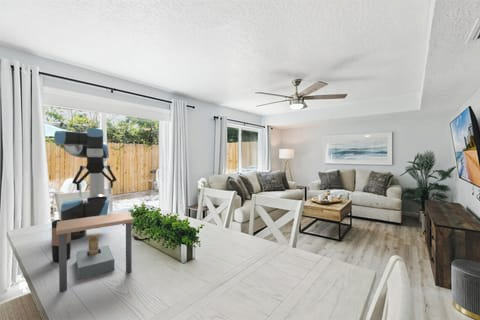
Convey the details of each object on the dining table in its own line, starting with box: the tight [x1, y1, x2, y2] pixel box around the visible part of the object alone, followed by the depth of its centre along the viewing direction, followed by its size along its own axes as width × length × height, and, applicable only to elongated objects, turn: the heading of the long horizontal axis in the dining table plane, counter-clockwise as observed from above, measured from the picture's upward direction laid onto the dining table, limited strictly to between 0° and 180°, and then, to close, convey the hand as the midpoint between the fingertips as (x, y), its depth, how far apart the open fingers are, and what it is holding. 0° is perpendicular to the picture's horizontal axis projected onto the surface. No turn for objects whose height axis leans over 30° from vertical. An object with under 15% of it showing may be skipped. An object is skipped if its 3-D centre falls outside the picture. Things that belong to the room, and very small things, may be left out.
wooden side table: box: [56, 211, 135, 293], centre depth 102 cm, size 15×28×25 cm, turn 128°
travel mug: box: [51, 219, 72, 264], centre depth 115 cm, size 8×8×20 cm
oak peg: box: [88, 233, 99, 256], centre depth 113 cm, size 4×4×14 cm
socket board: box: [75, 244, 115, 280], centre depth 110 cm, size 20×14×5 cm
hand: (95, 195), depth 124 cm, fingers open, 13 cm apart
